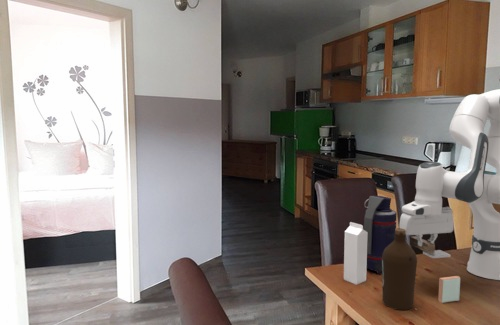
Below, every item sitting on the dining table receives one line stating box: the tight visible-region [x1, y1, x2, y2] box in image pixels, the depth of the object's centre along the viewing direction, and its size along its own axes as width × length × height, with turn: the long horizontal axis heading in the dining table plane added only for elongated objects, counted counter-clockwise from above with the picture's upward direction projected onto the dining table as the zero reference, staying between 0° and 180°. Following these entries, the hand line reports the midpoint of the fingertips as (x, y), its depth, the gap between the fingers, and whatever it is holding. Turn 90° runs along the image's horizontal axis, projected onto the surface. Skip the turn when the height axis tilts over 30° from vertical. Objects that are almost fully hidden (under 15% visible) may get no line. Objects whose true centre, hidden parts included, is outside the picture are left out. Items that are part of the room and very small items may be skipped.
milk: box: [343, 221, 368, 286], centre depth 142 cm, size 6×6×22 cm
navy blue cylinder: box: [363, 195, 397, 275], centre depth 151 cm, size 14×12×30 cm
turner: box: [409, 235, 452, 259], centre depth 135 cm, size 7×15×3 cm, turn 14°
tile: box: [437, 275, 461, 304], centre depth 126 cm, size 7×2×8 cm, turn 104°
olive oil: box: [381, 227, 418, 311], centre depth 123 cm, size 11×11×25 cm
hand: (425, 245), depth 136 cm, fingers closed on turner, 2 cm apart
